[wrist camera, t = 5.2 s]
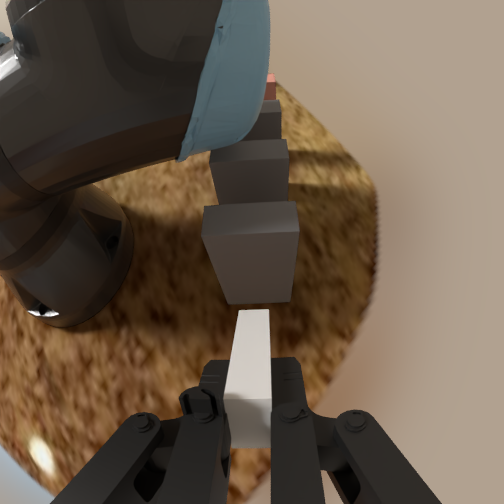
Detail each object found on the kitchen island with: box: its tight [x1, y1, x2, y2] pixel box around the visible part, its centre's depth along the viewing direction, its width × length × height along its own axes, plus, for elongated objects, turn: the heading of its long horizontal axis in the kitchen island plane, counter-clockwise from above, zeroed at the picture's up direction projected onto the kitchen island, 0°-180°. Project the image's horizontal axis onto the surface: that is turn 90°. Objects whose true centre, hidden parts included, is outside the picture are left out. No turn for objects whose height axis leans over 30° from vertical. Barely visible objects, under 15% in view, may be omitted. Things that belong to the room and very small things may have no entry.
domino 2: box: [209, 139, 289, 205], centre depth 22 cm, size 2×5×10 cm, turn 91°
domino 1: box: [240, 100, 281, 141], centre depth 25 cm, size 2×5×10 cm, turn 91°
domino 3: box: [201, 201, 300, 304], centre depth 20 cm, size 2×5×10 cm, turn 91°
